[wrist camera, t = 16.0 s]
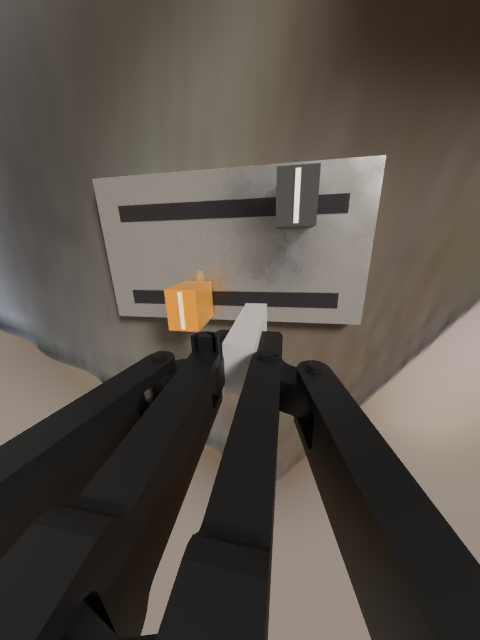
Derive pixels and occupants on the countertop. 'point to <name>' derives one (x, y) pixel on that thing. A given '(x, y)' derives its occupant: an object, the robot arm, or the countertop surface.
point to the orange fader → (189, 305)
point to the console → (242, 240)
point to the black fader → (297, 196)
